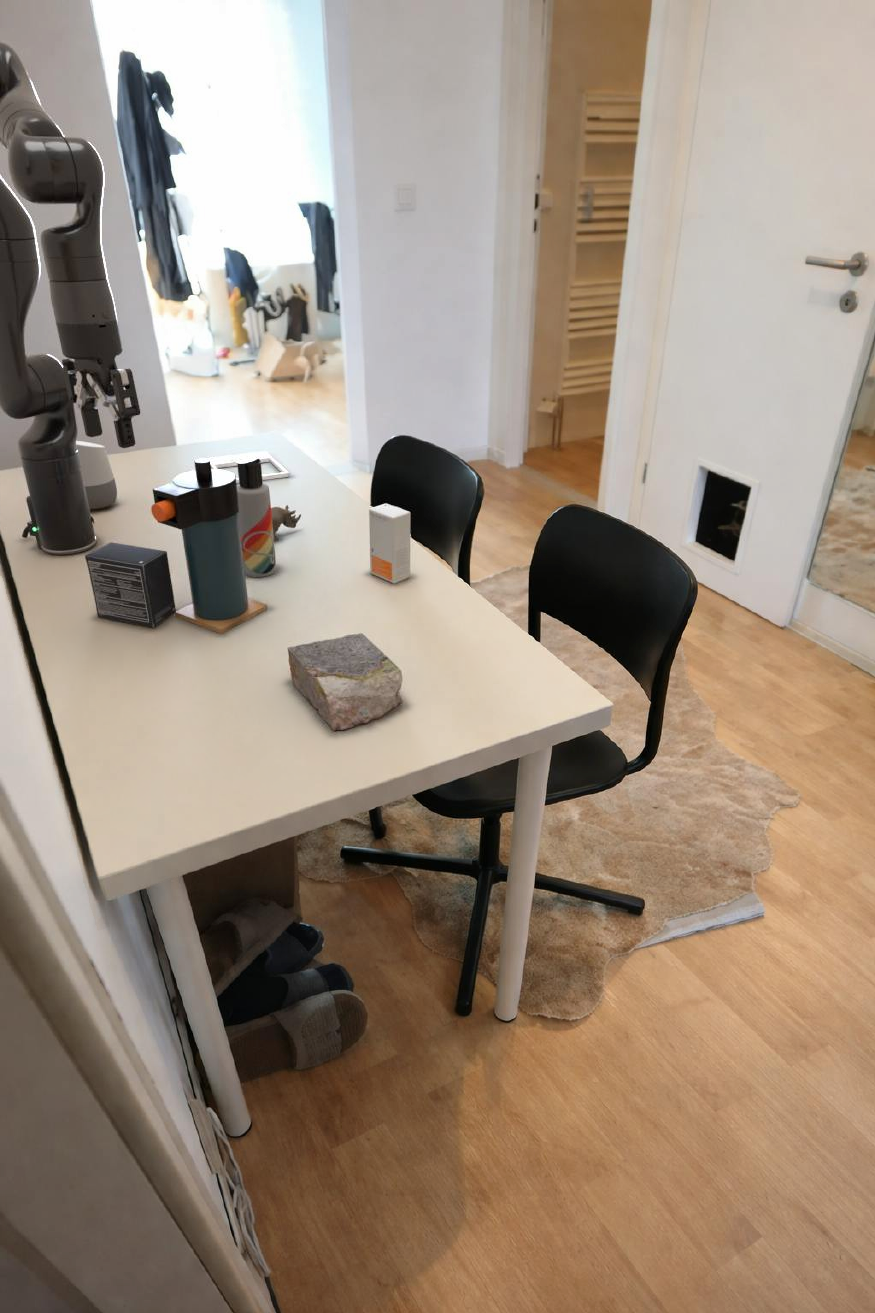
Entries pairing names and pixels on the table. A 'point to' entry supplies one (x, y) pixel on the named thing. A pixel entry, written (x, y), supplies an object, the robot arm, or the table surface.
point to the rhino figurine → (283, 519)
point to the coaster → (221, 625)
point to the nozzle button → (163, 510)
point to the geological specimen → (346, 679)
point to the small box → (131, 584)
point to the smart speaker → (97, 475)
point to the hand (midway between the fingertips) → (110, 441)
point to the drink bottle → (209, 538)
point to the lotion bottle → (255, 519)
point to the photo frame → (233, 459)
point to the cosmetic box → (389, 542)
